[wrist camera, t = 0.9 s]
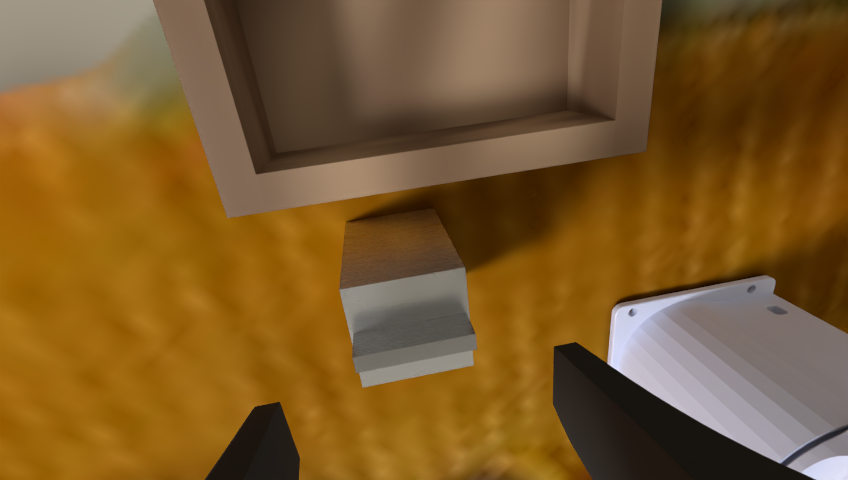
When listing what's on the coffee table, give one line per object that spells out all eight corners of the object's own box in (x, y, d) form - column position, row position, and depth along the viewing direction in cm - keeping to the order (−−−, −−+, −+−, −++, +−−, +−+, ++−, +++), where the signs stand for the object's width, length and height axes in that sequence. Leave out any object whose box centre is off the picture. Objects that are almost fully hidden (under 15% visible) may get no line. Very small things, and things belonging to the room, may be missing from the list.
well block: (598, -105, 14) (679, -164, 11) (587, 134, 18) (645, 151, 14) (181, -64, 13) (113, -116, 9) (256, 185, 17) (227, 218, 13)
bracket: (433, 207, 18) (475, 286, 12) (442, 283, 20) (483, 389, 13) (345, 222, 18) (337, 311, 11) (361, 298, 19) (363, 414, 13)
